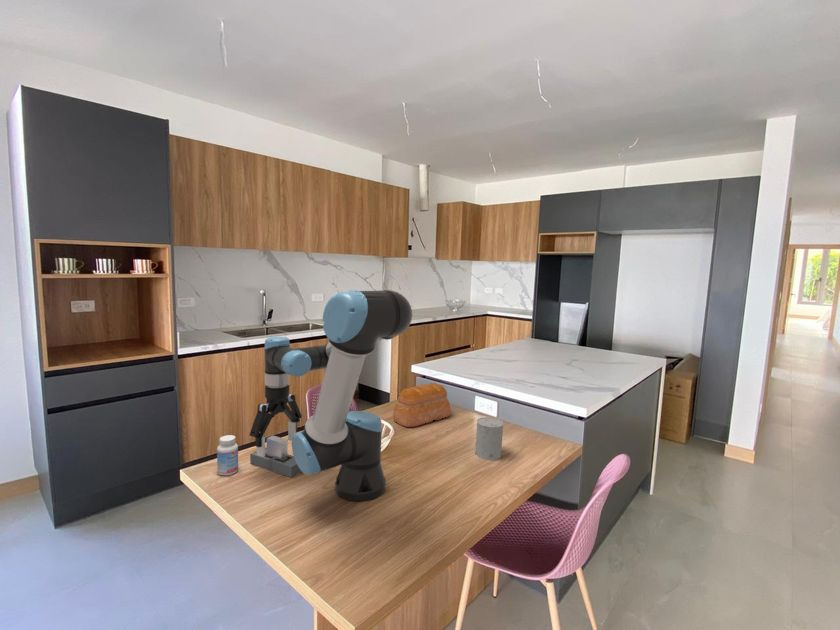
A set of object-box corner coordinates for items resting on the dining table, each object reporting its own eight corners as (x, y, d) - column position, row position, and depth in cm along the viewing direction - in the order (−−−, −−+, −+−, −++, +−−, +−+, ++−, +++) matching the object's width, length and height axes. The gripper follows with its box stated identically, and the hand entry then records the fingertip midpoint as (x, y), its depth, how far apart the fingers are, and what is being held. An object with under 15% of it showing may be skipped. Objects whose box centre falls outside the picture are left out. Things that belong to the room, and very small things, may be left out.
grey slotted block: (304, 469, 138) (304, 459, 138) (291, 477, 133) (291, 467, 132) (264, 456, 146) (264, 447, 146) (250, 463, 141) (250, 453, 140)
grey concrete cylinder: (472, 457, 152) (473, 424, 151) (478, 446, 161) (480, 415, 160) (498, 462, 149) (500, 429, 147) (503, 451, 158) (505, 420, 156)
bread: (453, 417, 191) (455, 384, 189) (408, 430, 174) (410, 394, 172) (433, 409, 201) (435, 378, 200) (389, 420, 184) (390, 386, 183)
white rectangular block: (287, 465, 139) (287, 439, 138) (281, 469, 137) (281, 442, 136) (272, 461, 142) (272, 435, 141) (266, 464, 140) (266, 438, 139)
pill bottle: (230, 477, 132) (230, 443, 130) (213, 474, 133) (212, 440, 131) (242, 468, 137) (242, 435, 136) (225, 466, 139) (225, 433, 137)
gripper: (295, 374, 149) (295, 432, 151) (236, 392, 127) (237, 460, 129) (312, 378, 146) (311, 437, 148) (254, 397, 123) (255, 466, 126)
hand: (277, 447), depth 139 cm, fingers open, 13 cm apart
